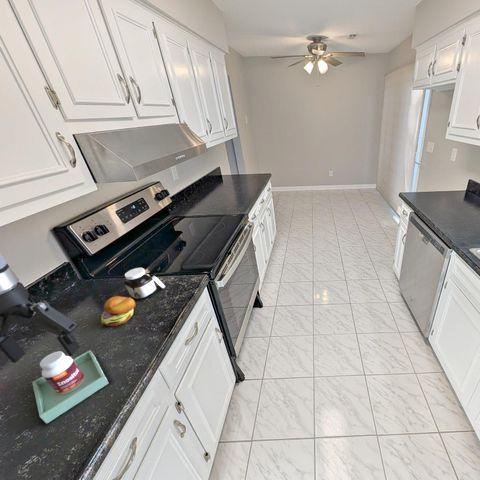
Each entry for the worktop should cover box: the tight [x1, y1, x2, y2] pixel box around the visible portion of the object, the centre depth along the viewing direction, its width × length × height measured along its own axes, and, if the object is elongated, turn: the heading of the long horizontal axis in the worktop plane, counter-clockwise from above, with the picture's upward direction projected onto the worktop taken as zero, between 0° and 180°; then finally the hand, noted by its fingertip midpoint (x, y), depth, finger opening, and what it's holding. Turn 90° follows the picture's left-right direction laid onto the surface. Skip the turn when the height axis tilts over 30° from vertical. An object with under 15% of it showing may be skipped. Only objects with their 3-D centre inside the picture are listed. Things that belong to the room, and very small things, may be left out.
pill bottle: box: [39, 350, 85, 395], centre depth 70 cm, size 6×6×11 cm
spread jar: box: [124, 267, 167, 301], centre depth 108 cm, size 12×11×12 cm
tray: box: [32, 349, 110, 425], centre depth 72 cm, size 15×13×3 cm
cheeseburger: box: [100, 295, 137, 327], centre depth 95 cm, size 10×11×10 cm
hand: (47, 354), depth 66 cm, fingers open, 13 cm apart
